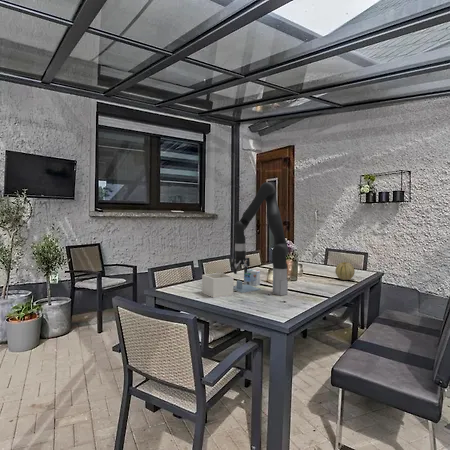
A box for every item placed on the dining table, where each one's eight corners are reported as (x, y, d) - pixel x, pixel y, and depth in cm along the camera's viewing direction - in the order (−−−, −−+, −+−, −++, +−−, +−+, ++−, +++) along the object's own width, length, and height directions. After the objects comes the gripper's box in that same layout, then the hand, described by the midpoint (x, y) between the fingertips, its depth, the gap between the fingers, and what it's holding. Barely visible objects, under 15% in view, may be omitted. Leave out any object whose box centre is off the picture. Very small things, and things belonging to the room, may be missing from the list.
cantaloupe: (351, 278, 280) (352, 260, 279) (356, 282, 265) (357, 263, 264) (333, 277, 281) (333, 260, 280) (337, 281, 266) (337, 262, 266)
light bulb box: (243, 284, 251) (243, 270, 250) (247, 282, 257) (247, 268, 256) (256, 286, 246) (257, 271, 245) (260, 284, 252) (260, 270, 251)
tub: (233, 295, 219) (233, 276, 218) (213, 297, 211) (213, 278, 211) (221, 290, 232) (221, 272, 231) (201, 292, 224) (202, 274, 223)
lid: (260, 290, 234) (260, 281, 234) (241, 293, 226) (241, 283, 225) (247, 286, 248) (247, 277, 247) (228, 288, 239) (229, 279, 239)
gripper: (234, 251, 226) (235, 275, 227) (251, 249, 234) (252, 273, 234) (228, 250, 233) (229, 273, 233) (245, 248, 240) (245, 271, 241)
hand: (240, 273), depth 234 cm, fingers open, 8 cm apart
